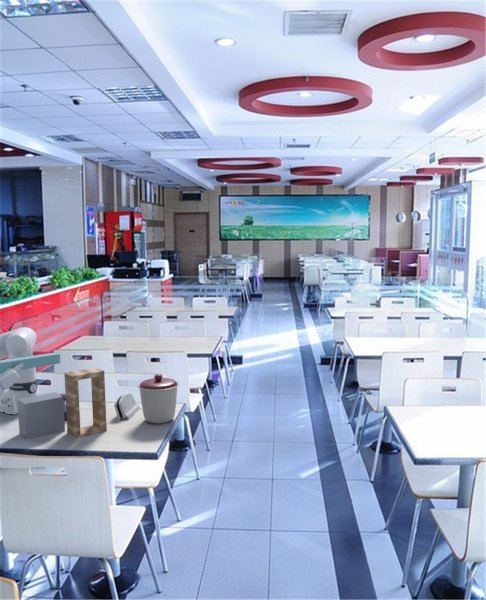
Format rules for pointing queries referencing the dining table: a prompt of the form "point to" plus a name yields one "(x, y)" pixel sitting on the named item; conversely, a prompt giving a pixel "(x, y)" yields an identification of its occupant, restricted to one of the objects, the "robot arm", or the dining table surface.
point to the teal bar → (31, 361)
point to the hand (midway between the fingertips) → (20, 362)
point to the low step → (41, 415)
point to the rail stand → (97, 402)
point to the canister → (158, 399)
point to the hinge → (126, 406)
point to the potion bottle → (64, 406)
